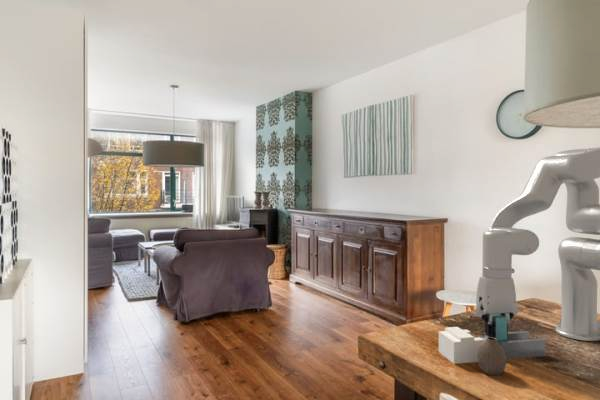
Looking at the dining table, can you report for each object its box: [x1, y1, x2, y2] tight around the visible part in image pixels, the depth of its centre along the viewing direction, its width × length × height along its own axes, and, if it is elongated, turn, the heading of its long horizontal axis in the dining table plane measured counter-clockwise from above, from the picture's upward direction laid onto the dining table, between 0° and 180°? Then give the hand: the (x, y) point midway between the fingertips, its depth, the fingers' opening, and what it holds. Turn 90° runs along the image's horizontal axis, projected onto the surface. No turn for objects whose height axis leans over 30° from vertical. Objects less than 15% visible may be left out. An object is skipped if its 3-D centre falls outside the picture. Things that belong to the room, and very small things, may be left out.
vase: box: [477, 337, 508, 376], centre depth 105 cm, size 7×7×9 cm
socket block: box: [438, 326, 484, 365], centre depth 114 cm, size 9×8×7 cm
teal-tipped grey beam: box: [481, 313, 507, 342], centre depth 115 cm, size 14×4×10 cm, turn 99°
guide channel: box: [484, 330, 547, 360], centre depth 117 cm, size 14×8×4 cm, turn 99°
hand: (496, 335), depth 116 cm, fingers closed on teal-tipped grey beam, 3 cm apart
